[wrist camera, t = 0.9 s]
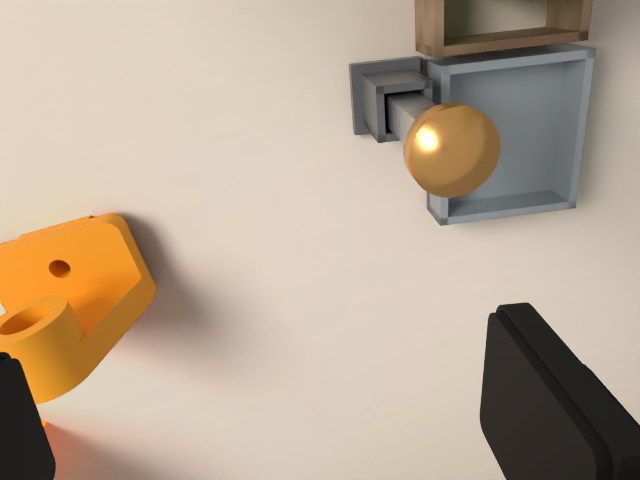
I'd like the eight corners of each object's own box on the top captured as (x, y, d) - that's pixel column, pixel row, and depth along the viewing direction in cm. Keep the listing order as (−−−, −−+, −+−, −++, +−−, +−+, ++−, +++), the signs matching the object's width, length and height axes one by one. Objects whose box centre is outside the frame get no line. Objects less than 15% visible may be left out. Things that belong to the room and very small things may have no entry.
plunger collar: (348, 63, 38) (363, 76, 32) (417, 56, 38) (443, 66, 33) (353, 132, 40) (368, 154, 34) (418, 124, 40) (442, 145, 35)
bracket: (122, 206, 41) (73, 284, 30) (158, 283, 44) (126, 379, 33) (-10, 243, 41) (-107, 334, 30) (35, 318, 44) (-38, 424, 33)
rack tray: (426, 60, 38) (441, 66, 35) (568, 43, 39) (595, 48, 36) (427, 208, 43) (440, 225, 40) (552, 192, 44) (575, 208, 41)
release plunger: (360, 73, 35) (408, 113, 24) (425, 66, 35) (503, 101, 24) (364, 138, 37) (410, 203, 26) (425, 130, 37) (498, 191, 26)
